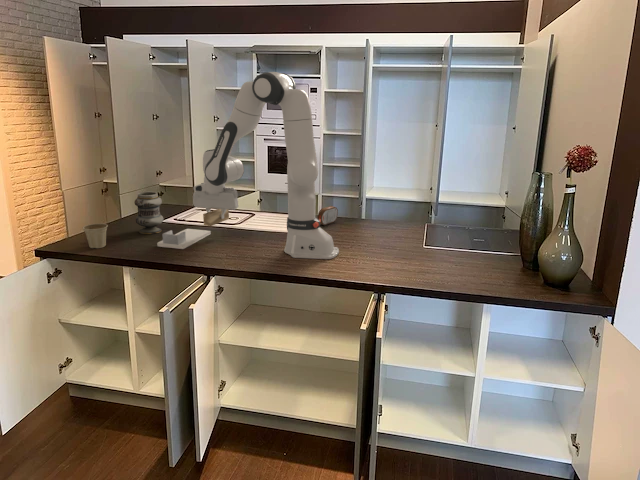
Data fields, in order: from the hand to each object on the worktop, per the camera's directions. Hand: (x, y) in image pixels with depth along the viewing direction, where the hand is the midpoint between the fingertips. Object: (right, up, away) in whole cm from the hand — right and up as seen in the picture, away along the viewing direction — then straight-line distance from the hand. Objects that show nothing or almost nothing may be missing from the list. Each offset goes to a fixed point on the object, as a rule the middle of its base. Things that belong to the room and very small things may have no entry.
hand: (216, 218), depth 212 cm
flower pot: (-47, -12, -11) cm, 50 cm away
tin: (+49, -1, +33) cm, 59 cm away
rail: (0, -2, +1) cm, 2 cm away
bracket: (-14, -10, 0) cm, 17 cm away
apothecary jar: (-33, -6, +12) cm, 36 cm away
